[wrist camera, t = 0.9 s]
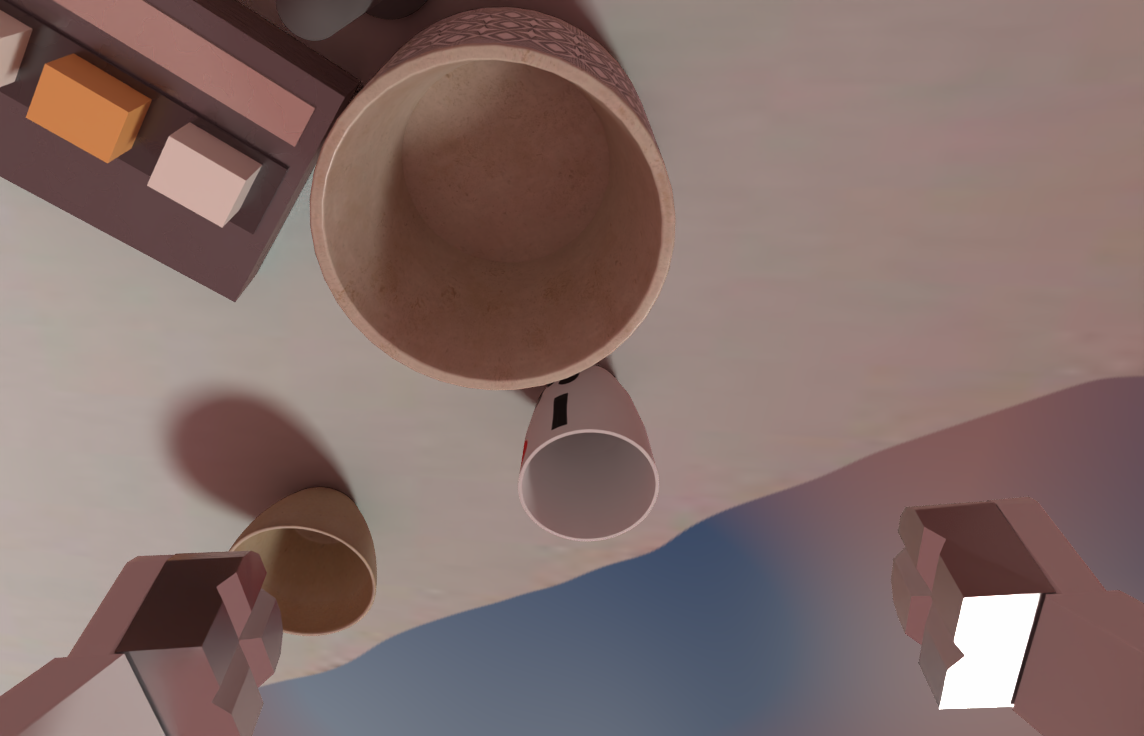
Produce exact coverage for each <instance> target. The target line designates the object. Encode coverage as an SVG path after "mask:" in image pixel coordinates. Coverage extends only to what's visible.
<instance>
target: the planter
mask: <svg viewBox="0 0 1144 736" xmlns="http://www.w3.org/2000/svg"><path fill="white" fill-rule="evenodd" d="M310 227H311V233H312V238H313V243H314V249H315V254H316V257H317V259H318V262H319V265H320V268H321V271H322V274H323V276H324V279H325V281H326V283H327V285H328V286H329V288H330V290H331V292H332V294H333V296H334V298H335V299H336V301H337V303H338V304H339V306H340V307H341V308H342V310H343V311H344V312H345V314H346V315H347V316H348V318H349V319H350V320H351V322H352V323H353V324H354V325H355V326H356V327H357V328H358V329H359V330H360V331H361V332H362V333H363V334H364V335H365V336H366V337H367V338H368V339H369V340H370V341H371V342H372V343H373V344H374V345H376V346H377V347H378V348H380V349H381V350H382V351H384V352H385V353H386V354H388V355H389V356H390V357H392V358H393V359H395V360H397V361H398V362H400V363H402V364H404V365H406V366H407V367H409V368H411V369H413V370H415V371H416V372H419V373H421V374H424V375H426V376H429V377H432V378H434V379H437V380H439V381H442V382H446V383H450V384H455V385H459V386H463V387H468V388H477V389H486V390H518V389H524V388H530V387H536V386H543V385H546V384H549V383H552V382H556V381H559V380H562V379H566V378H568V377H570V376H572V375H575V374H577V373H579V372H581V371H583V370H585V369H587V368H590V367H591V366H593V365H594V364H596V363H597V362H599V361H600V360H602V359H603V358H605V357H606V356H608V355H609V354H611V353H612V352H613V351H614V350H616V349H617V348H618V347H619V346H620V345H621V344H622V343H623V342H624V341H626V340H627V339H628V338H629V337H630V336H631V335H632V334H633V332H634V331H635V330H636V329H637V327H638V326H639V325H640V324H641V323H642V321H643V320H644V319H645V318H646V316H647V315H648V313H649V311H650V310H651V308H652V306H653V304H654V303H655V301H656V299H657V298H658V296H659V294H660V291H661V289H662V286H663V284H664V281H665V279H666V276H667V273H668V271H669V267H670V262H671V257H672V253H673V248H674V240H675V209H674V201H673V193H672V188H671V184H670V181H669V177H668V174H667V171H666V167H665V164H664V161H663V158H662V156H661V153H660V150H659V148H658V145H657V142H656V140H655V137H654V134H653V132H652V129H651V126H650V124H649V121H648V118H647V116H646V113H645V110H644V108H643V105H642V103H641V101H640V99H639V96H638V94H637V92H636V90H635V88H634V86H633V84H632V82H631V81H630V79H629V78H628V76H627V75H626V73H625V72H624V70H623V69H622V68H621V66H620V65H619V63H618V62H617V61H616V60H615V59H614V58H613V57H612V56H611V55H610V54H609V53H608V52H607V51H606V50H605V49H604V48H603V46H602V45H601V44H599V43H598V42H597V41H595V40H594V39H592V38H591V37H590V36H588V35H587V34H586V33H584V32H583V31H582V30H580V29H578V28H576V27H574V26H572V25H571V24H569V23H567V22H565V21H563V20H561V19H559V18H556V17H553V16H550V15H547V14H544V13H541V12H537V11H534V10H527V9H520V8H513V7H490V8H481V9H476V10H470V11H465V12H461V13H458V14H455V15H453V16H450V17H448V18H445V19H442V20H440V21H438V22H436V23H434V24H433V25H431V26H429V27H428V28H426V29H424V30H423V31H421V32H419V33H417V34H416V35H415V36H414V37H413V38H412V39H411V40H409V41H408V42H407V43H406V44H405V45H404V46H402V47H401V48H400V49H399V50H398V51H397V52H396V53H395V54H394V55H393V57H392V58H391V59H390V60H389V61H388V62H387V63H386V64H385V65H384V66H383V67H382V68H381V69H380V70H379V72H378V73H377V74H376V75H375V76H374V77H373V78H372V79H371V80H370V81H369V82H368V83H367V84H366V85H365V87H364V88H363V89H362V90H361V91H360V92H359V93H358V94H357V95H356V96H355V97H354V99H353V100H352V101H351V102H350V104H349V105H348V106H347V107H346V108H345V110H344V111H343V112H342V113H341V115H340V116H339V117H338V118H337V120H336V122H335V124H334V125H333V127H332V129H331V131H330V133H329V134H328V136H327V138H326V140H325V142H324V143H323V146H322V149H321V152H320V155H319V158H318V161H317V164H316V167H315V170H314V175H313V181H312V188H311V194H310Z"/></svg>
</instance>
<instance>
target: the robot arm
mask: <svg viewBox="0 0 1144 736" xmlns="http://www.w3.org/2000/svg"><path fill="white" fill-rule="evenodd" d="M898 533H899V535H900V537H901V539H902V541H903V543H904V545H905V548H904V549H903V550H902V551H901V552H900V553H899V554H898V555H897V556H896V557H895V558H894V559H893V567H892V575H891V583H892V593H893V601H894V605H895V608H896V612H897V616H898V618H899V621H900V623H901V625H902V628H903V630H904V632H905V634H907V635H908V636H909V637H911V638H912V639H914V640H915V641H916V642H918V643H919V644H921V651H920V657H919V662H918V663H919V665H920V667H921V669H922V672H923V674H924V676H925V678H926V680H927V683H928V685H929V687H930V689H931V691H932V693H933V695H934V698H935V700H936V702H937V704H938V706H939V708H940V709H943V708H944V709H945V708H975V707H1004V706H1013V711H1015V712H1016V713H1017V714H1018V715H1019V716H1021V717H1022V718H1023V719H1024V720H1025V721H1026V722H1027V723H1029V724H1030V725H1031V726H1032V727H1033V728H1034V729H1036V730H1037V731H1038V732H1039V733H1040V734H1042V735H1043V736H1144V603H1142V602H1140V601H1138V600H1137V599H1135V598H1133V597H1131V596H1129V595H1127V594H1126V593H1124V592H1122V591H1120V590H1115V591H1106V590H1105V588H1104V587H1103V586H1102V584H1101V583H1100V582H1099V580H1098V579H1097V578H1096V577H1095V575H1094V574H1093V573H1092V571H1091V570H1090V569H1089V568H1088V566H1087V565H1086V564H1085V562H1084V561H1083V560H1082V559H1081V557H1080V556H1079V555H1078V554H1077V552H1076V551H1075V549H1074V548H1073V547H1072V546H1071V544H1070V543H1069V542H1068V540H1067V539H1066V538H1065V536H1064V535H1063V534H1062V533H1061V531H1060V530H1059V529H1058V528H1057V526H1056V525H1055V523H1054V522H1053V521H1052V520H1051V518H1050V517H1049V516H1048V514H1047V513H1046V512H1045V511H1044V509H1043V508H1042V507H1041V505H1040V504H1039V503H1038V502H1037V501H1036V500H1034V499H1032V498H1030V497H1019V498H1008V499H996V500H987V501H986V502H984V501H979V502H966V503H953V504H939V505H925V506H912V507H905V509H904V511H903V512H902V514H901V516H900V522H899V528H898ZM266 575H267V572H266V569H265V567H264V564H263V562H262V559H261V557H260V554H258V553H256V552H253V551H231V552H207V553H184V554H175V555H156V556H137V557H136V558H134V559H132V560H131V561H129V562H127V563H126V565H125V566H124V568H123V569H122V571H121V573H120V574H119V576H118V577H117V579H116V580H115V582H114V584H113V585H112V587H111V588H110V590H109V592H108V593H107V595H106V596H105V598H104V600H103V601H102V603H101V604H100V606H99V608H98V609H97V611H96V612H95V614H94V615H93V617H92V619H91V620H90V622H89V623H88V625H87V627H86V628H85V630H84V631H83V633H82V635H81V636H80V638H79V639H78V641H77V643H76V644H75V646H74V647H73V649H72V650H71V652H70V654H69V655H68V657H63V658H54V659H53V660H52V661H50V662H49V663H47V664H46V665H44V666H43V667H42V668H40V669H39V670H37V671H36V672H34V673H33V674H32V675H30V676H29V677H27V678H26V679H24V680H23V681H22V682H20V683H19V684H17V685H16V686H14V687H13V688H12V689H10V690H9V691H7V692H6V693H4V694H3V695H2V696H0V736H252V734H253V731H254V728H255V726H256V723H257V720H258V717H259V715H260V712H261V709H262V706H263V701H262V698H261V695H260V693H259V690H258V687H259V686H260V685H262V684H263V683H264V682H265V681H266V680H267V679H268V678H269V677H270V676H272V675H273V674H274V672H275V669H276V666H277V663H278V660H279V657H280V654H281V645H282V635H283V627H282V619H281V612H280V609H279V606H278V603H277V600H276V598H274V597H273V596H272V595H270V594H269V593H268V592H266V591H265V590H263V589H262V588H261V587H262V585H263V582H264V580H265V577H266Z"/></svg>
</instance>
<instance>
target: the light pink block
mask: <svg viewBox="0 0 1144 736" xmlns="http://www.w3.org/2000/svg"><path fill="white" fill-rule="evenodd" d="M32 30H33V29H32V28H30V27H28V26H27V25H25V24H23V23H22V22H20V21H18V20H17V19H15V18H13V17H12V16H10V15H8V14H6V13H5V12H3V11H1V10H0V87H2V86H4V85H7V84H10V83H12V82H15V79H16V76H17V73H18V70H19V67H20V64H21V62H22V59H23V56H24V53H25V50H26V47H27V44H28V41H29V38H30V36H31V33H32Z"/></svg>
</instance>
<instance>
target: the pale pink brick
mask: <svg viewBox="0 0 1144 736" xmlns="http://www.w3.org/2000/svg"><path fill="white" fill-rule="evenodd" d="M261 166H262V165H261V164H260V163H258V162H256V161H255V160H253V159H251V158H250V157H248V156H246V155H245V154H243V153H241V152H239V151H238V150H236V149H234V148H233V147H231V146H229V145H228V144H226V143H224V142H223V141H221V140H219V139H218V138H216V137H214V136H212V135H211V134H209V133H207V132H206V131H204V130H202V129H201V128H199V127H197V126H196V125H194V124H192V123H191V122H189V123H188V124H186V125H185V126H183V127H182V128H180V129H179V130H177V131H176V132H174V133H173V134H171V135H170V136H169V137H168V139H167V141H166V144H165V146H164V148H163V150H162V153H161V155H160V157H159V159H158V162H157V164H156V166H155V168H154V171H153V173H152V175H151V177H150V180H149V182H148V184H147V186H149V187H150V188H152V189H154V190H156V191H158V192H159V193H161V194H163V195H165V196H167V197H168V198H170V199H172V200H174V201H175V202H177V203H179V204H181V205H183V206H184V207H186V208H188V209H190V210H192V211H193V212H195V213H197V214H199V215H200V216H202V217H204V218H206V219H208V220H209V221H211V222H213V223H215V224H216V225H218V226H220V227H222V228H223V226H224V225H225V224H226V223H227V222H228V221H229V220H230V219H231V218H232V217H233V216H234V215H235V214H236V213H237V212H238V211H239V210H240V208H241V206H242V204H243V202H244V200H245V198H246V196H247V194H248V192H249V190H250V188H251V186H252V184H253V182H254V180H255V178H256V176H257V174H258V172H259V170H260V168H261Z"/></svg>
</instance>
